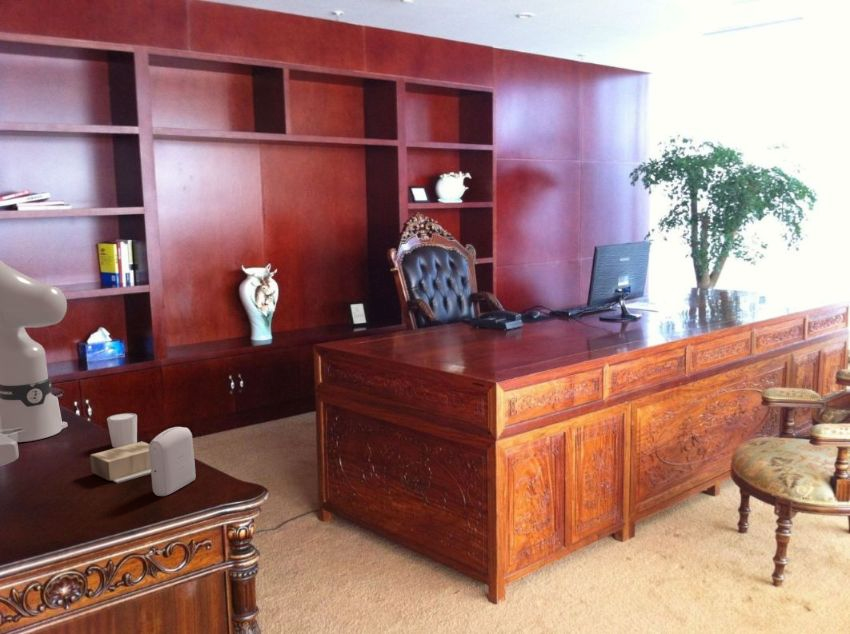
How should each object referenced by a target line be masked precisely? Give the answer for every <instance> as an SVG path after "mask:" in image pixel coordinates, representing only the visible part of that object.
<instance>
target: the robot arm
mask: <svg viewBox="0 0 850 634" xmlns="http://www.w3.org/2000/svg"><path fill="white" fill-rule="evenodd" d="M67 309H68V302H67V298H66V295H65V294H64V292H63V291H62V290H61V288H59V287H57V286H54V285H50V284H47V283H44V282H41V281H39V280H37V279H35V278H32V277H30V276H28V275H26V274H24V273H22V272H20V271H18V270H17V269H14V268H13V267H11V266H9V265H8V264H7V263H5V262H4V261H3V260H1V259H0V467H2V466H4V465H5V466H6V465H8V464H11V463H13V462H15V461H16V460H18V458H19V457H20V456H19V446H18V443H22V442H23V443H24V442H32V441H38V440H42V439H45V438H49V437H52V436H54V435H57V434H58V433H60V432H61V431H62V430H63V429H65V428H67V427H68V422H66V421H62V414H61V409H60V405H59V404H60V403H59V399H58V397H57V396H55V395H54V394H52V383H51V382H52V381H51V378H50V377H49V375H48V364H47V356H46V350H45V348H44V347H43V345H42V344H40V343H39V342H37V341H35V340H34V339H33V338H31V336H29V334H28V332H27V331H26V328H44V327H49V326H52V325H56V324H59V323H60V322H61V321H62V320H63V319H64V317H66V313H67V311H68V310H67Z"/></svg>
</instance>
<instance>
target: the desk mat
mask: <svg viewBox="0 0 850 634" xmlns="http://www.w3.org/2000/svg"><path fill="white" fill-rule="evenodd" d="M147 475H151V468H150V469H147V470H144V471H140V472H137V473H133V474H130V475H126V476H123V477H120V478H116V479H113V480H111V481H112V482H114V483H116V484H120V483H123V482H126V481H130V480H133V479H137V478H139V477H143V476H147Z"/></svg>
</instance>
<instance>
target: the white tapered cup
mask: <svg viewBox="0 0 850 634" xmlns="http://www.w3.org/2000/svg"><path fill="white" fill-rule="evenodd" d="M106 421H107V426H108V431H109V436H110V441H111V446H112V448H118V447H122V446H126V445H130V444H133V443H137V442H138V415H137V414H136V413H132V412H130V413H129V412H126V413H125V412H124V413H119V414H113V415H110V416H108V417H107V418H106Z"/></svg>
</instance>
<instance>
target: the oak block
mask: <svg viewBox="0 0 850 634" xmlns="http://www.w3.org/2000/svg"><path fill="white" fill-rule="evenodd" d="M149 445H150V443H147V442H145V441H142V440H141V441H137V443H133V444H130V445H126V446H122V447H118V448H115V447H113V448H110V449H107V450H104V451H100V452H96V453H92V454H89V455H90V456H89V458H90V467H91V473H92V474H94V475H96V476H98V477H101V478H103V479H105V480H107V481H112V480H113V479H116V478H120V477H123V476H126V475H130V474H133V473H137V472H140V471H144V470H147V469H150V468H151V465H150V455H149Z"/></svg>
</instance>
